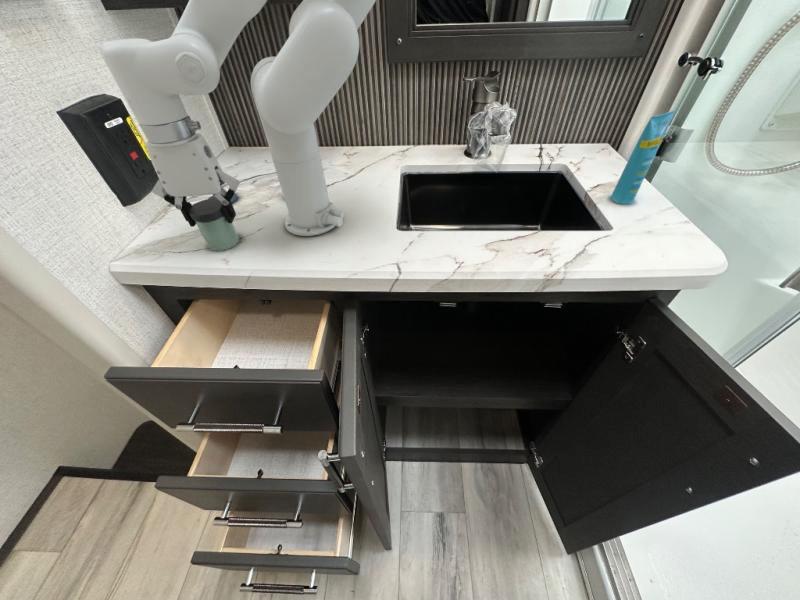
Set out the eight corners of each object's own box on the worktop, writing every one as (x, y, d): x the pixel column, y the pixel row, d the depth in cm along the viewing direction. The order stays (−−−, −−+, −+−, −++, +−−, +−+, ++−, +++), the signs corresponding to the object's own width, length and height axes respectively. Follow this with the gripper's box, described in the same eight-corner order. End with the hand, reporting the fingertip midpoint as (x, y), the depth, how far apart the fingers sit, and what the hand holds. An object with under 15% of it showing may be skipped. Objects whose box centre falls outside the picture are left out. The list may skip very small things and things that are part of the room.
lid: (231, 203, 70) (228, 197, 69) (222, 220, 66) (219, 213, 64) (197, 206, 70) (194, 199, 69) (186, 223, 65) (182, 217, 64)
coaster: (244, 197, 88) (243, 194, 88) (221, 210, 83) (220, 208, 83) (223, 191, 91) (223, 189, 90) (201, 204, 86) (200, 202, 86)
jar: (245, 238, 74) (230, 204, 68) (223, 254, 70) (205, 219, 64) (225, 232, 76) (209, 199, 70) (202, 246, 72) (183, 213, 66)
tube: (622, 208, 78) (665, 119, 64) (603, 200, 81) (641, 113, 67) (639, 199, 80) (685, 111, 67) (620, 191, 83) (660, 106, 70)
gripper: (226, 120, 60) (259, 209, 72) (126, 127, 59) (177, 216, 71) (214, 134, 55) (252, 227, 67) (105, 142, 53) (163, 235, 66)
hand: (213, 221), depth 69 cm, fingers closed on lid, 6 cm apart
